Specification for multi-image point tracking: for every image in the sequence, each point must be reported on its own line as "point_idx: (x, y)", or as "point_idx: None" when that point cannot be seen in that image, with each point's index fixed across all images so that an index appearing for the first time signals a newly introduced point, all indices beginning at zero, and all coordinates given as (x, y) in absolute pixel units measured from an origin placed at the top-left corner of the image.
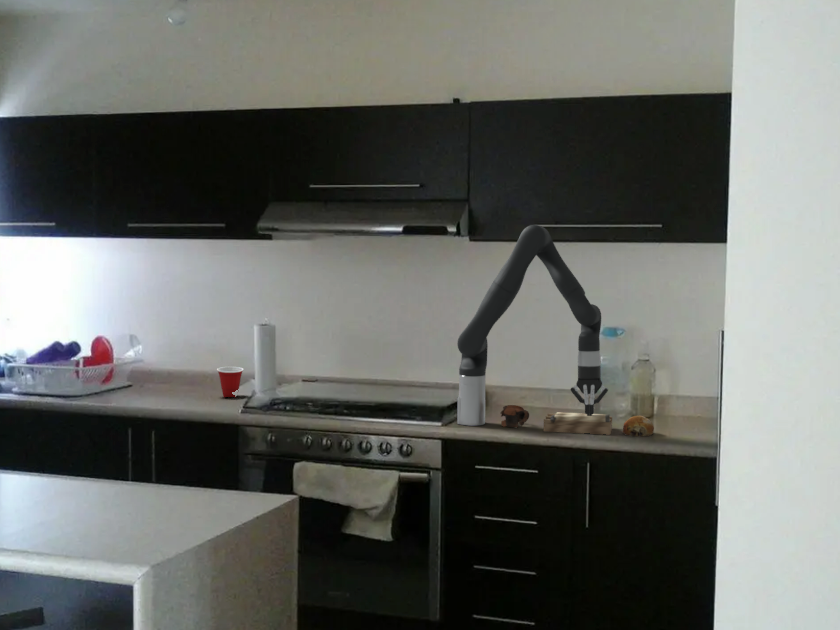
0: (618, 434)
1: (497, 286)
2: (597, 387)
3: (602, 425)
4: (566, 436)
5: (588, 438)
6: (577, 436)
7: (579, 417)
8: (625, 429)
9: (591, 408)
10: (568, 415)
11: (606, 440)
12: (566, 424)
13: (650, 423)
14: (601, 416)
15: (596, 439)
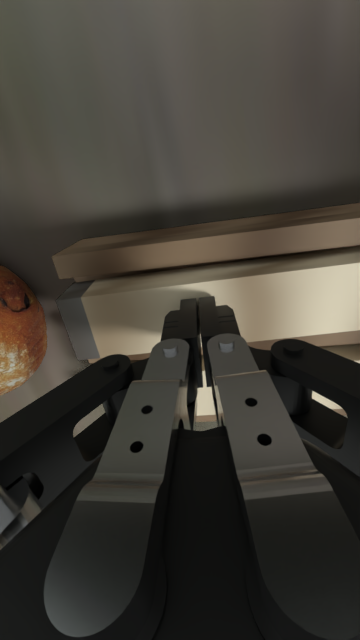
0: (52, 270)
1: None
2: (25, 555)
3: (106, 246)
4: (322, 60)
5: (163, 54)
6: (245, 101)
7: (266, 270)
8: (3, 281)
9: (179, 327)
10: (353, 298)
11: (35, 33)
12: (345, 214)
13: None
14: (107, 294)
15: (105, 40)
